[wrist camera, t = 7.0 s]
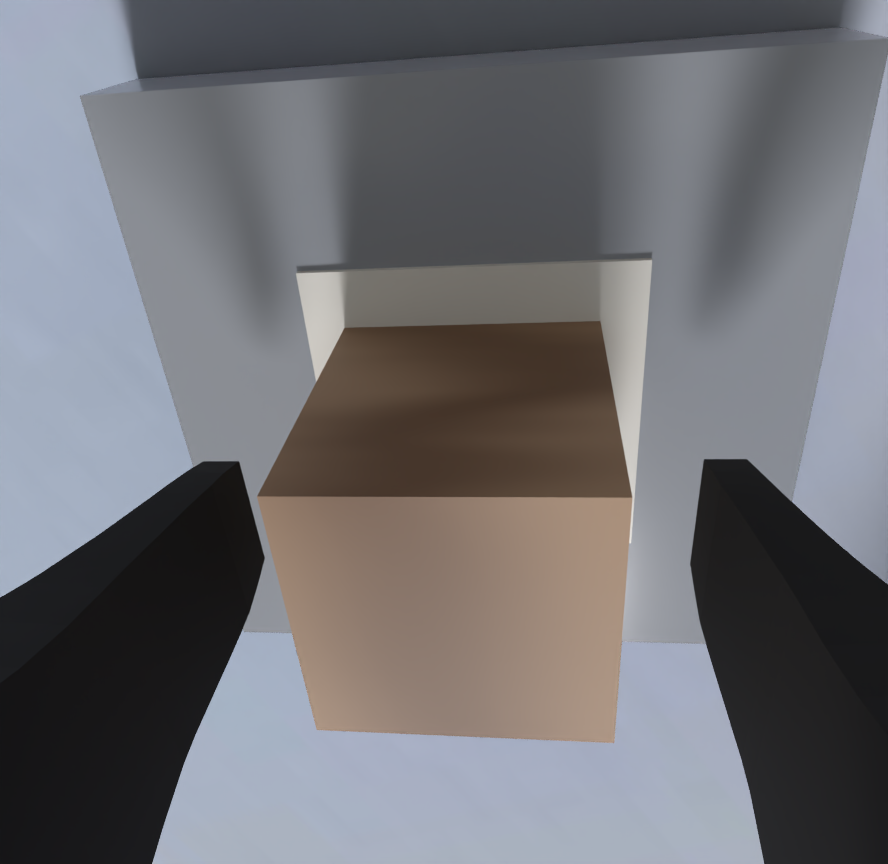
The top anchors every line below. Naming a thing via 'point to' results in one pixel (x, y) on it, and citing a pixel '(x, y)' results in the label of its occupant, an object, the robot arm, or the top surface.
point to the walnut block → (457, 532)
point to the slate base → (509, 243)
